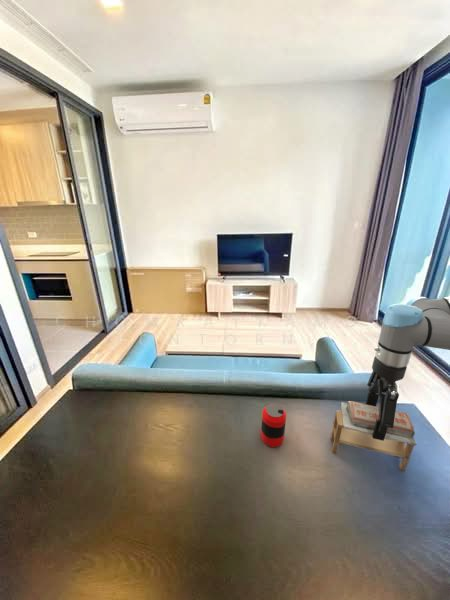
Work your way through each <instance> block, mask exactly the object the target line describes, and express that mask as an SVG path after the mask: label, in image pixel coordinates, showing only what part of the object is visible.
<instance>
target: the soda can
mask: <svg viewBox="0 0 450 600" xmlns="http://www.w3.org/2000/svg"><path fill="white" fill-rule="evenodd" d="M286 423H287V413H286V411H285V409H284V408H283V407H282V406H281V405H279V404H277V403H269V404H267V405H266V406H264V407H263V409H262V415H261V431H260V439H261V441H262V442H263V443H264V444H265V445H266V446H268V447H272V448H277V447H280V446H281V445H282V444H283V443H284V439H285V438H284V437H285V431H286Z"/></svg>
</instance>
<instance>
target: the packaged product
mask: <svg viewBox="0 0 450 600" xmlns="http://www.w3.org/2000/svg"><path fill="white" fill-rule="evenodd" d="M340 407H341V411H342V415H343V424H344V429H349V430H354V431H360V432H363V433H366V434H370V435H373V432H374V428H375V424H376V419H379V406H378V405H376V406H372V405H366V403H361V402H357V401H352V400H349V401H347V402H343V401H341V406H340ZM415 435H416V431H415V426H414V424H413V422H412V419H411V417H410V414H409V413H408V412H403V411H400V410H396V411H395V418H394V425H393V428H387V431H386V435H385V438H384V439H385V440H395V441H400V442H404V444H407V443H408V444H412V445H414V446H416V445H417V442H415V441H416V439H415V437H414V436H415Z"/></svg>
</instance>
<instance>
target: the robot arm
mask: <svg viewBox="0 0 450 600" xmlns="http://www.w3.org/2000/svg"><path fill="white" fill-rule="evenodd" d="M378 337H379V338H378V342H377V346H375V347H374V351H375V354H374V357H373V361H372V365H371V369H372V372H371V374H370V376H369V380H368V382H367V383H366V384H367V387H368V390H367V391H368V393H367V397H366V401H365V404H366V405H372V406H377V404H378V401H379V406H378V407H379V419H376V424H375V428H374V432H373V435H372V437H373V438H374V439H378V440H382V441H384V438H385V435H386V431H387V428H393V425H394V418H395V411H397V404H398V400H399V397H400V394H399V393H400V392H398V391H395V389H396V382H399V381H402V380H403V379H404V378H405V375H406V372H407V368H408V365H409V362H410V360H411V356H412V353H413V350H414V349H413V348H414V346H419V347H426V348H427V347H428V348H434V349H440V350H446V351H447V350H448V351H450V296H446V297H439V298H434V299H433V298H432V299H431V298H428V297H425V296H415V297H413V298H411V299H410V300H408V301H407V303H394V304H390V305H389V306H388V307H387V308H386V311H385V313H384V316H383V319H382V324H381V329H380V334H379V336H378Z"/></svg>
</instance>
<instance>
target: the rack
mask: <svg viewBox="0 0 450 600" xmlns="http://www.w3.org/2000/svg"><path fill="white" fill-rule="evenodd" d="M330 441H331V442H333V443H332V448H331V453H332V454H335V455H337V453H338V447H339V444H344V445H348V446H352V447H357V448H361V449H365V450H368V451H374V452H378V453H382V454H386V455H390V456H395V457H398V458H401V460H400V462H399V465H398V468H399V470H400V471H402V472H406V469H407V466H408V464H409V461H410V458H411V456H412V452H413V450H414V447H415V445H412V444H408V443H404V442H400V441H395V440H385V439H384V441H382V440H378V439H374V438H373V437H372V435H370V434H366V433H363V432H360V431H354V430H349V429H344V424H343V415H342V410H340V409H339V410H338V409H336V410H335V414H334V419H333V424H332V429H331V434H330ZM415 442H416V440H415ZM416 443H417V442H416Z"/></svg>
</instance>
